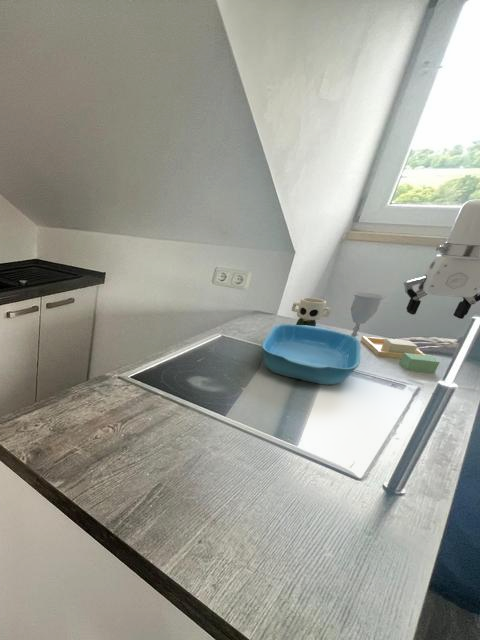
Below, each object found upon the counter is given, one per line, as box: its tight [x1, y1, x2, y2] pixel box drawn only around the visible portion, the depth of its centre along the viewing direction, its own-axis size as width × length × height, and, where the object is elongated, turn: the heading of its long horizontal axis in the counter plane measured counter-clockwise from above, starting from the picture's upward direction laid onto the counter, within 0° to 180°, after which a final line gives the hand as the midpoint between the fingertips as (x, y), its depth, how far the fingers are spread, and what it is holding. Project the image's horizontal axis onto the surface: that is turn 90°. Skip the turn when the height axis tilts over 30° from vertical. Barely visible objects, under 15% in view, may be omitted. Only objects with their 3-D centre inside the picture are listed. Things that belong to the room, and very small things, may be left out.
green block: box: [399, 353, 441, 374], centre depth 112 cm, size 6×5×4 cm
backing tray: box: [360, 335, 426, 360], centre depth 124 cm, size 12×15×2 cm
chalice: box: [350, 291, 385, 338], centre depth 125 cm, size 7×7×18 cm
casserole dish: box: [261, 323, 362, 386], centre depth 116 cm, size 37×22×7 cm, turn 139°
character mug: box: [291, 297, 332, 327], centre depth 137 cm, size 11×7×13 cm, turn 42°
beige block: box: [381, 337, 418, 354], centre depth 121 cm, size 6×5×4 cm
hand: (433, 315), depth 106 cm, fingers open, 9 cm apart
